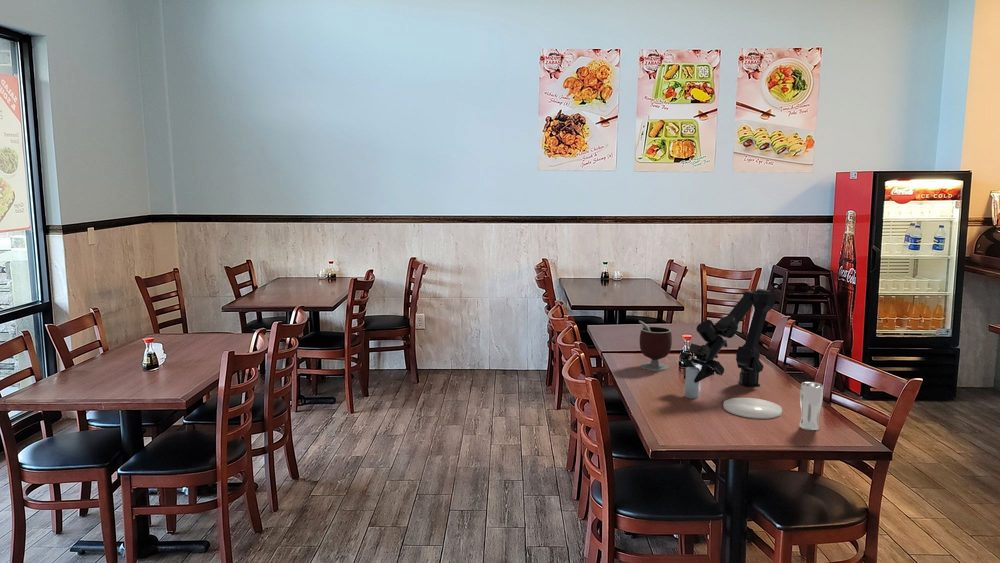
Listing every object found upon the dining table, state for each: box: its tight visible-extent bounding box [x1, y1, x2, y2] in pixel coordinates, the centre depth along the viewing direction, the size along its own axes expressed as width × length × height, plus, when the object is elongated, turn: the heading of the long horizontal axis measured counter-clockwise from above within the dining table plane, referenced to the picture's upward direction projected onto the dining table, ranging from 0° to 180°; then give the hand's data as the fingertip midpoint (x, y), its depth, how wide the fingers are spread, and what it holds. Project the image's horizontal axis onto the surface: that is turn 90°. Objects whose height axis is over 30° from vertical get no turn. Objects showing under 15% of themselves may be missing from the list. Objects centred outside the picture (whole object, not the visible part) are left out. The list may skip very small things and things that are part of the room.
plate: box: [722, 397, 783, 420], centre depth 253 cm, size 20×20×1 cm
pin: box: [684, 366, 701, 399], centre depth 267 cm, size 5×5×11 cm
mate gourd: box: [638, 320, 673, 372], centre depth 309 cm, size 16×14×20 cm
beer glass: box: [798, 381, 824, 431], centre depth 234 cm, size 7×7×15 cm
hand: (689, 380), depth 266 cm, fingers closed on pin, 5 cm apart
